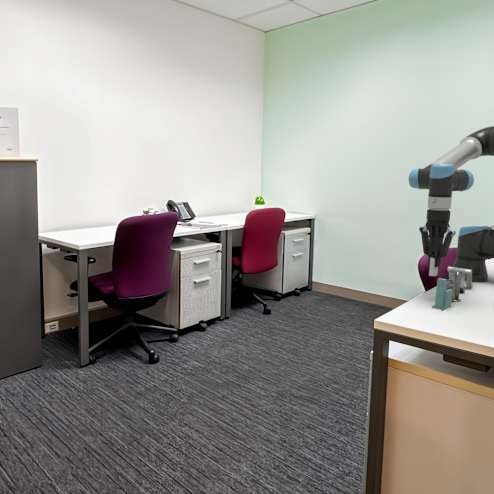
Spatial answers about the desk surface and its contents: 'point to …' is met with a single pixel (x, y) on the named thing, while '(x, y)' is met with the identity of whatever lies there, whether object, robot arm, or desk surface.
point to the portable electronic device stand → (464, 273)
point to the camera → (460, 287)
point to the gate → (453, 287)
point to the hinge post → (457, 281)
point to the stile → (442, 295)
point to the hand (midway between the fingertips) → (433, 275)
